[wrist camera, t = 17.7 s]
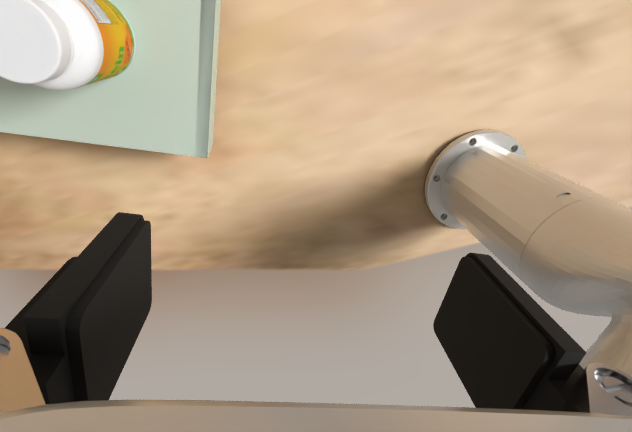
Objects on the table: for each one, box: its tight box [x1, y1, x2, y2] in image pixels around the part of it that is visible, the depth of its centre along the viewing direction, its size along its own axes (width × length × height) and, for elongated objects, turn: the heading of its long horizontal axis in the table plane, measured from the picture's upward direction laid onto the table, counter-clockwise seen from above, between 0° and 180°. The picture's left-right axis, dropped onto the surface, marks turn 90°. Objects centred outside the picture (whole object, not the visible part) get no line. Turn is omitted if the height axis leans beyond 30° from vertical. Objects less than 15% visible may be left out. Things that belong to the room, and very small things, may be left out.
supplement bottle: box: [0, 0, 136, 90], centre depth 21 cm, size 5×5×10 cm
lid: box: [0, 0, 221, 158], centre depth 26 cm, size 16×16×4 cm
